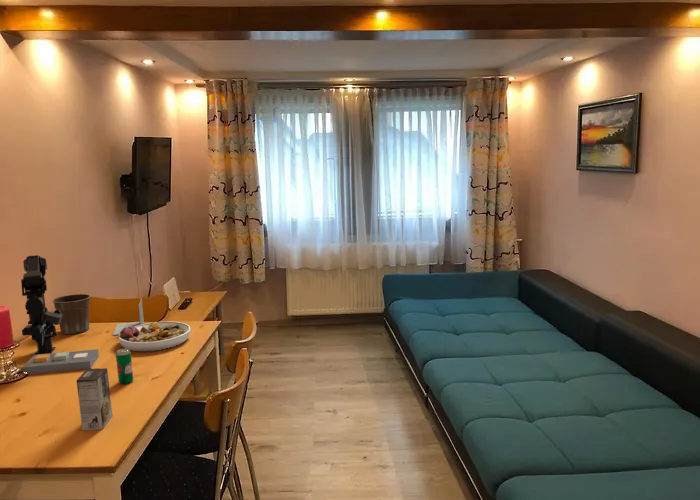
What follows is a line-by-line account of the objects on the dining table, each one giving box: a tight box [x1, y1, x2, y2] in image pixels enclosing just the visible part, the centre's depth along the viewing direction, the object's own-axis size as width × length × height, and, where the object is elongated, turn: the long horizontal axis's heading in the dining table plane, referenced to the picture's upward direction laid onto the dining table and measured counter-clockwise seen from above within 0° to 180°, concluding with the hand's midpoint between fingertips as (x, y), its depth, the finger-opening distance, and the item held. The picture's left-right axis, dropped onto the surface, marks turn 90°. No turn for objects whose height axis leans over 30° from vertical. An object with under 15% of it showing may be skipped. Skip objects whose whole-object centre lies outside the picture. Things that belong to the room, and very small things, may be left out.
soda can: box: [115, 348, 134, 385], centre depth 205 cm, size 5×5×12 cm
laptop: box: [112, 297, 145, 336], centre depth 269 cm, size 18×12×13 cm
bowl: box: [118, 321, 191, 352], centre depth 250 cm, size 30×30×8 cm
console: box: [22, 349, 100, 375], centre depth 224 cm, size 14×24×3 cm, turn 102°
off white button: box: [73, 353, 88, 359], centre depth 226 cm, size 4×4×3 cm
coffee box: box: [76, 367, 113, 431], centre depth 173 cm, size 9×6×16 cm
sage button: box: [54, 351, 70, 361], centre depth 224 cm, size 4×4×3 cm
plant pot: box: [52, 293, 91, 335], centre depth 268 cm, size 16×16×16 cm
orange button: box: [34, 353, 51, 362], centre depth 223 cm, size 4×4×3 cm
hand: (41, 345), depth 222 cm, fingers closed
